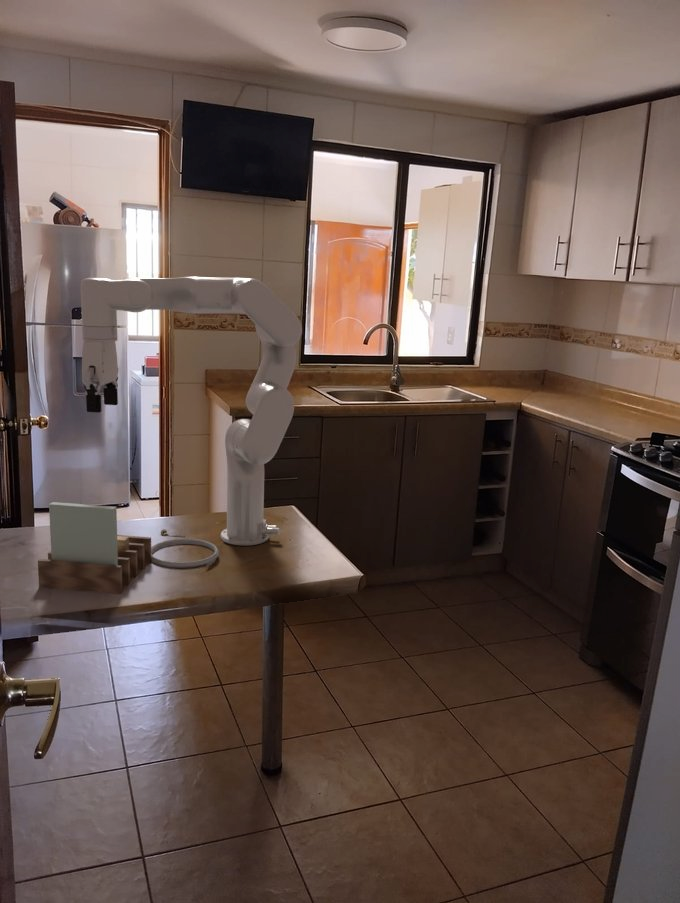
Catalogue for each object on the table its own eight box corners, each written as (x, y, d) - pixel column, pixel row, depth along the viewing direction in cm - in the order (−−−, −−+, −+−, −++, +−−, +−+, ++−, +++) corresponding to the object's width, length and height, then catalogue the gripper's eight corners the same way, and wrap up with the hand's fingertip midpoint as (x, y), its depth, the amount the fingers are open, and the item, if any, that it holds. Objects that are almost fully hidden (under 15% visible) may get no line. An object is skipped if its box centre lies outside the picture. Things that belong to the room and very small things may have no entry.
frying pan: (194, 522, 200) (228, 556, 176) (194, 532, 201) (228, 568, 176) (130, 529, 192) (156, 566, 168) (130, 540, 193) (157, 578, 169)
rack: (151, 565, 175) (151, 537, 173) (120, 598, 157) (119, 567, 155) (78, 559, 176) (77, 531, 175) (39, 591, 158) (37, 560, 157)
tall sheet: (118, 586, 160) (116, 506, 156) (115, 589, 159) (113, 509, 154) (56, 581, 161) (52, 501, 157) (52, 583, 160) (48, 504, 156)
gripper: (99, 330, 177) (102, 401, 181) (67, 336, 160) (70, 414, 164) (129, 331, 176) (131, 403, 180) (100, 337, 159) (103, 416, 163)
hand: (102, 408), depth 172 cm, fingers open, 9 cm apart
